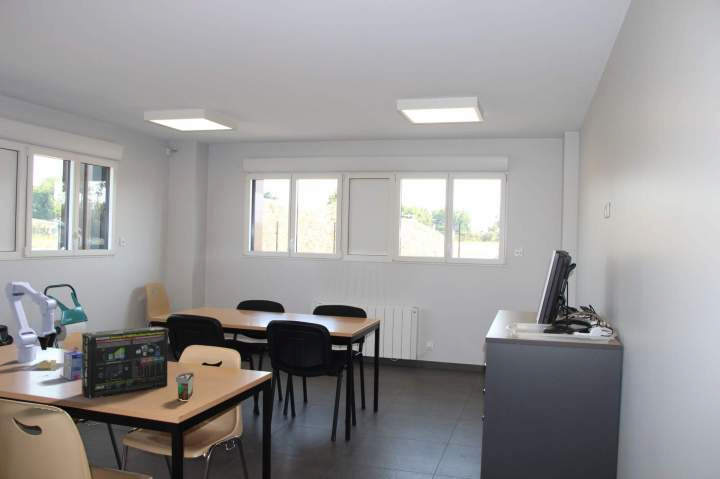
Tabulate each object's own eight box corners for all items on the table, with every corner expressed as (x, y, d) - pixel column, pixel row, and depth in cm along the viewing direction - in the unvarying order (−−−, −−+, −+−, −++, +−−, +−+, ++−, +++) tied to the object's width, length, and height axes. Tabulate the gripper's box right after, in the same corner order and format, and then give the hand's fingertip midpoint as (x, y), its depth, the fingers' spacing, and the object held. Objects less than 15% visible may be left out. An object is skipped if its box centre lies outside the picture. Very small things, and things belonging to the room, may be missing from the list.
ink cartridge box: (82, 379, 275) (83, 348, 275) (70, 380, 271) (71, 350, 271) (74, 375, 282) (75, 345, 282) (62, 377, 278) (63, 347, 278)
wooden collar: (43, 367, 293) (44, 360, 293) (55, 367, 293) (56, 360, 293) (38, 369, 287) (39, 362, 287) (51, 369, 288) (51, 362, 288)
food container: (179, 394, 251) (179, 372, 251) (193, 394, 251) (193, 372, 252) (172, 402, 239) (172, 378, 239) (187, 402, 239) (187, 378, 239)
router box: (158, 381, 273) (159, 325, 273) (168, 386, 265) (170, 328, 265) (78, 394, 249) (80, 332, 249) (87, 399, 241) (88, 335, 241)
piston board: (37, 365, 301) (37, 355, 301) (69, 365, 303) (69, 355, 303) (20, 373, 283) (21, 362, 283) (54, 373, 285) (55, 362, 285)
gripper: (50, 324, 292) (49, 351, 292) (61, 320, 306) (60, 346, 306) (35, 324, 291) (34, 351, 291) (47, 320, 306) (47, 346, 306)
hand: (47, 348), depth 299 cm, fingers open, 7 cm apart
